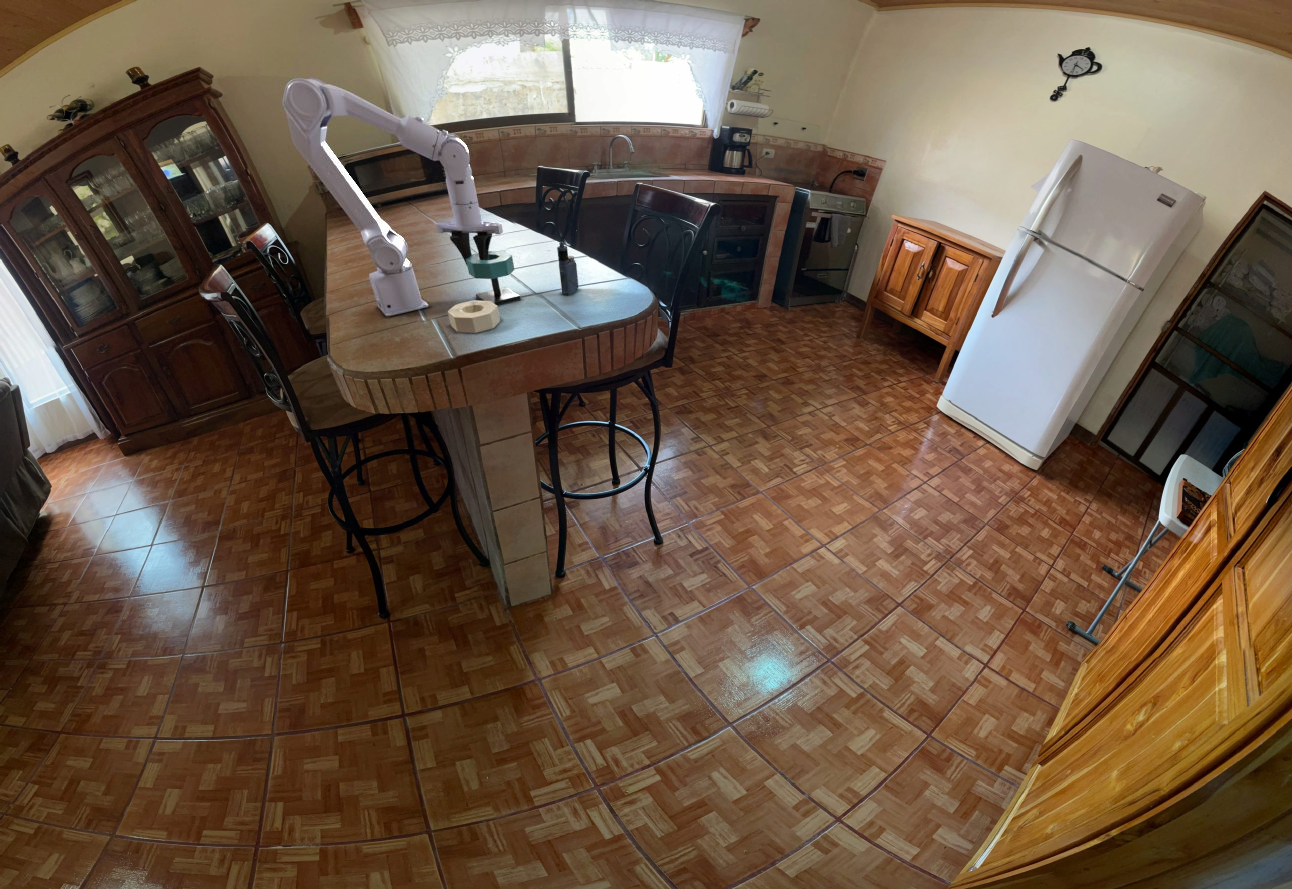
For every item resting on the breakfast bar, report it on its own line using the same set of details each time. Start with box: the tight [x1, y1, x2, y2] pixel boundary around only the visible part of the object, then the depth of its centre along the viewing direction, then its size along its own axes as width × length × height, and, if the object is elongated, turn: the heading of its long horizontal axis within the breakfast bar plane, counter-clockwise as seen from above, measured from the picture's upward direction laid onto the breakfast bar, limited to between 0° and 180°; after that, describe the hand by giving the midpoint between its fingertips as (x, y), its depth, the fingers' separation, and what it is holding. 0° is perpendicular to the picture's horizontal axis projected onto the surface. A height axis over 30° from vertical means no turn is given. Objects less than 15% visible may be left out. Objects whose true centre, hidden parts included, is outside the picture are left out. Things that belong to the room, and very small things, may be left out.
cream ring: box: [447, 299, 501, 334], centre depth 109 cm, size 10×10×3 cm
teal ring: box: [466, 250, 515, 280], centre depth 117 cm, size 10×10×3 cm
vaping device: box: [556, 241, 579, 296], centre depth 121 cm, size 3×5×12 cm, turn 152°
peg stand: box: [475, 278, 521, 307], centre depth 120 cm, size 8×8×6 cm
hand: (477, 265), depth 118 cm, fingers closed on teal ring, 3 cm apart
